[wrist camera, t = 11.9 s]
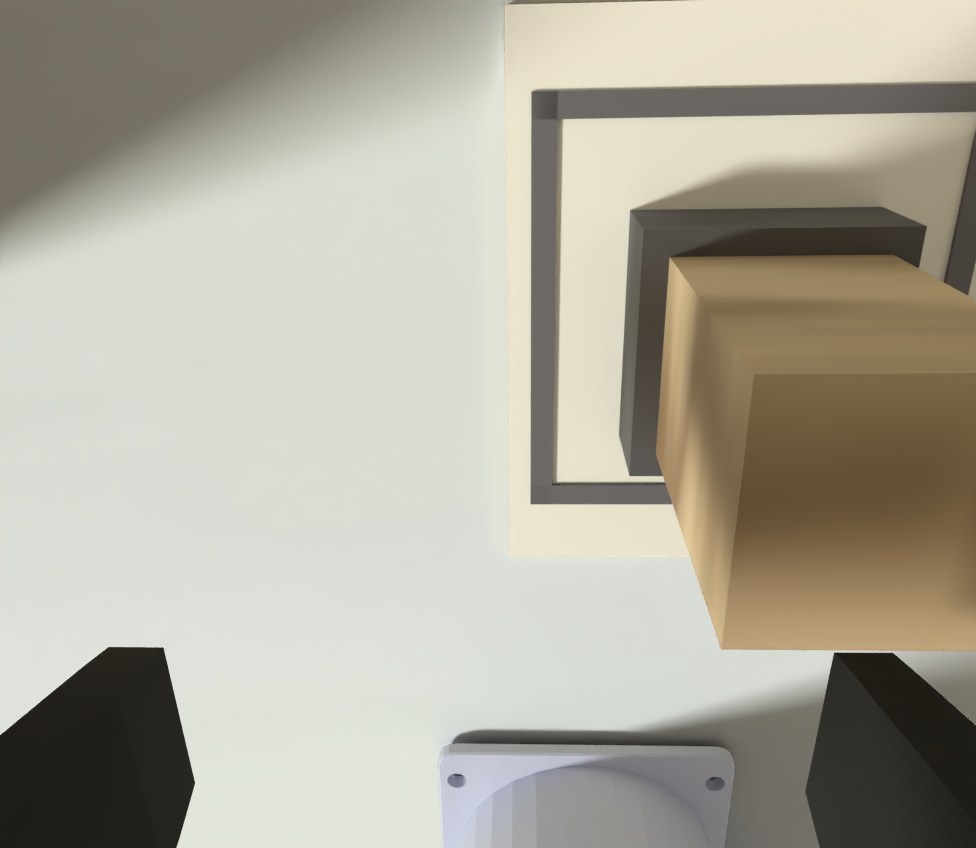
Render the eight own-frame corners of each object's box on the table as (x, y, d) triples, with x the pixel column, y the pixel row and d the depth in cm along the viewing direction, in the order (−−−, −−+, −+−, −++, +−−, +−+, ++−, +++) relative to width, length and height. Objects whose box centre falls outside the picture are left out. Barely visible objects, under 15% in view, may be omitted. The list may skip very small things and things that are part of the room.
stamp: (843, 434, 19) (1051, 681, 11) (618, 435, 19) (681, 678, 12) (882, 206, 17) (1166, 330, 9) (630, 210, 17) (714, 333, 10)
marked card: (925, 552, 20) (930, 559, 20) (509, 551, 20) (509, 558, 20) (1054, -8, 15) (1064, -9, 15) (504, 5, 16) (504, 4, 15)
